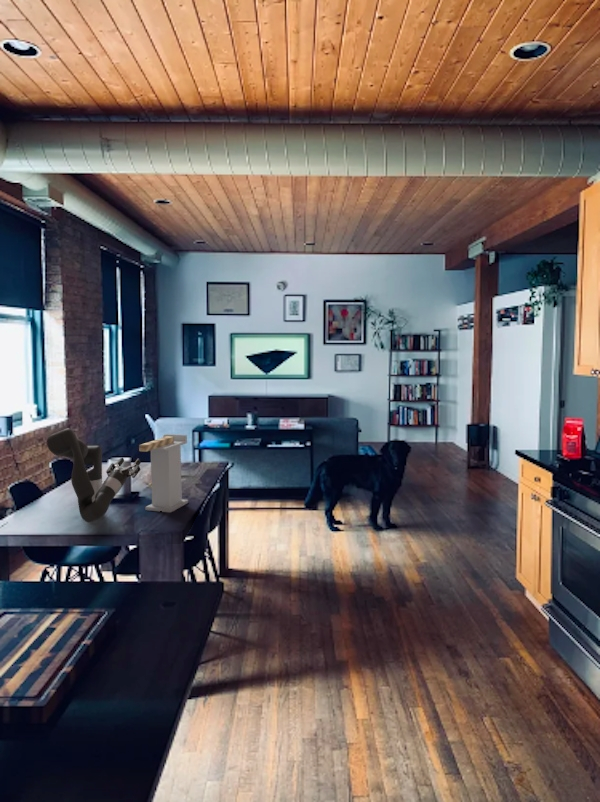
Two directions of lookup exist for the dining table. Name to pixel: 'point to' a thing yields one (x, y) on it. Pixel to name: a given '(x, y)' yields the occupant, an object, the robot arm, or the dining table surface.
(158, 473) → the white plinth column
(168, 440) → the brown wooden block
